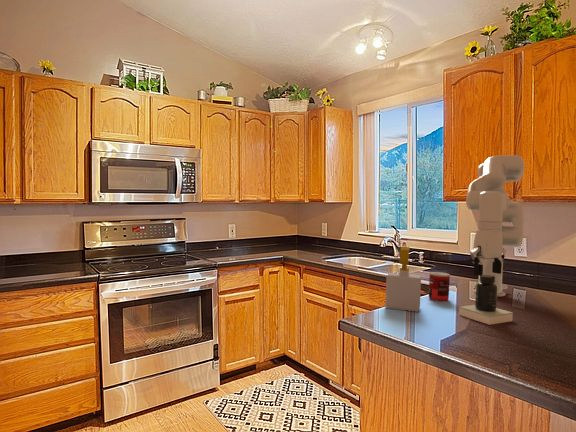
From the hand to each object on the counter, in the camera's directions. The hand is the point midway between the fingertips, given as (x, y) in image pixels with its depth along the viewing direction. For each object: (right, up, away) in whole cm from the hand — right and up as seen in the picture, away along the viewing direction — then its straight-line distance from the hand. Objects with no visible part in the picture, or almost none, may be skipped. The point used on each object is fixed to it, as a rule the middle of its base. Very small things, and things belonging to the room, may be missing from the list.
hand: (487, 274), depth 136 cm
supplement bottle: (-1, -13, 0) cm, 13 cm away
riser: (-1, -16, 0) cm, 16 cm away
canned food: (-7, -15, +26) cm, 30 cm away
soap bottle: (-27, -15, +9) cm, 33 cm away
